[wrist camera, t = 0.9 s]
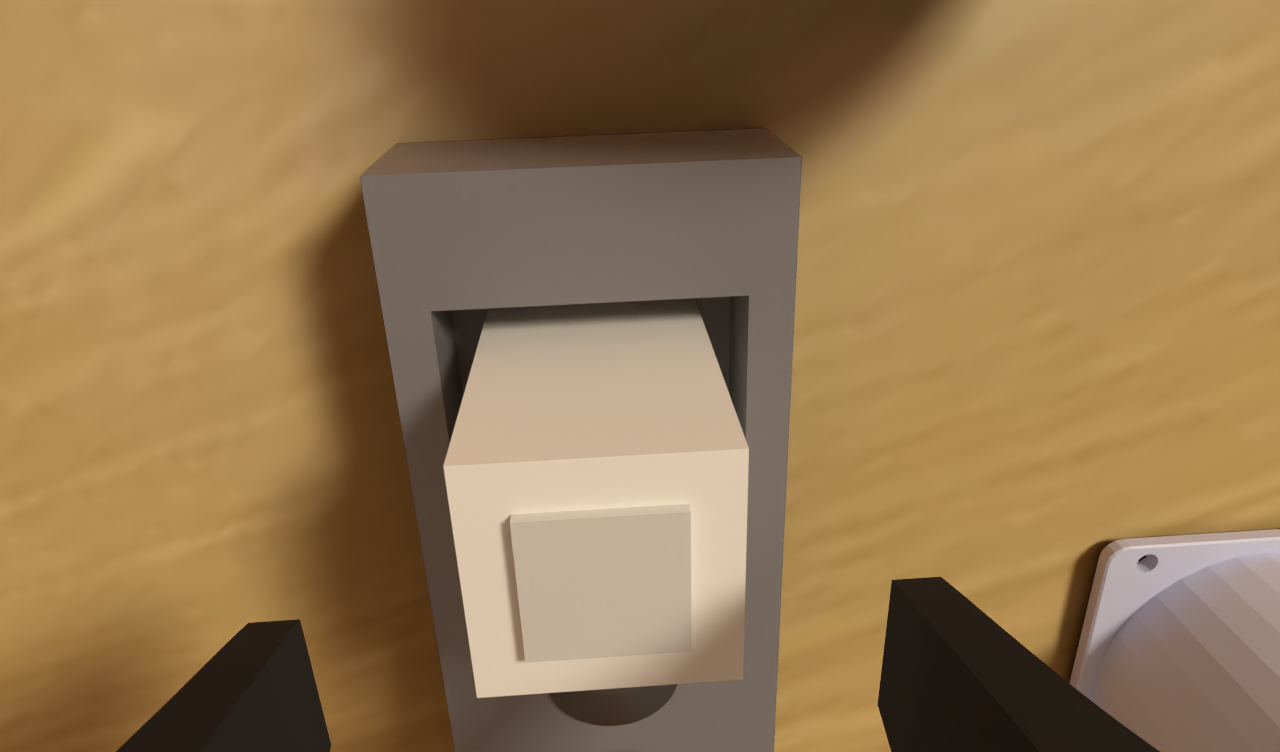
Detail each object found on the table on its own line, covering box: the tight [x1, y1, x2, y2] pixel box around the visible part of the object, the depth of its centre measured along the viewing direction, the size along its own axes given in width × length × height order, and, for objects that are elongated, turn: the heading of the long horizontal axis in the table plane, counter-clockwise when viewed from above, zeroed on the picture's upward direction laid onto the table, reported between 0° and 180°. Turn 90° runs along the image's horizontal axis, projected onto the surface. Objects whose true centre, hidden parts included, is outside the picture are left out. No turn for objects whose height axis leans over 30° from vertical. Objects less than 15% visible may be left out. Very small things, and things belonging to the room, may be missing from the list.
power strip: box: [360, 128, 802, 752], centre depth 19 cm, size 7×18×4 cm, turn 2°
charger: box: [443, 298, 749, 698], centre depth 15 cm, size 4×4×6 cm
